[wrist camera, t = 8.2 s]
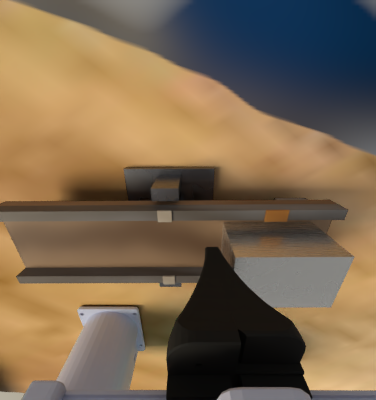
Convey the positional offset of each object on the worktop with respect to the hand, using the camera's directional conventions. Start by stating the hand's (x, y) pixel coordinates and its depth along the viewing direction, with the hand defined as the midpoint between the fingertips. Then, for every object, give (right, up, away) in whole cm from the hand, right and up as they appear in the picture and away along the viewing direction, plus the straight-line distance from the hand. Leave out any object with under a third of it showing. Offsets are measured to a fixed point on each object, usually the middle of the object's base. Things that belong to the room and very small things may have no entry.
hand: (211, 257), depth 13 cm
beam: (-3, +2, +4) cm, 6 cm away
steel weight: (+4, +1, +2) cm, 5 cm away
